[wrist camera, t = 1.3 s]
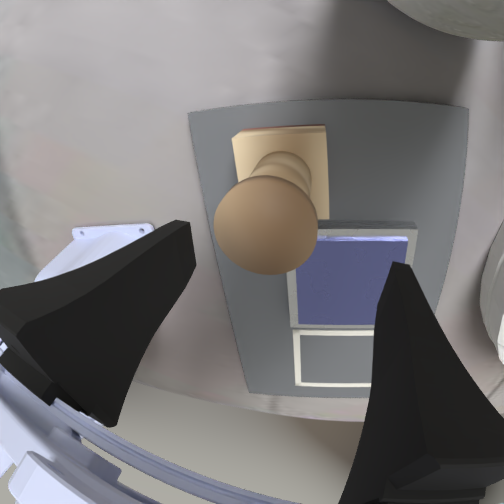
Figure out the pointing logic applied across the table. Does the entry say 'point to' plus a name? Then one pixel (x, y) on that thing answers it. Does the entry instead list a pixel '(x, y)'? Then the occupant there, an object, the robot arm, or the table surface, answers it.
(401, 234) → the ink pad
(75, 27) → the table surface
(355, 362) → the desk mat
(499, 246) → the dish
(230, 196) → the stamp
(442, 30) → the glass bottle
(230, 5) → the table surface
